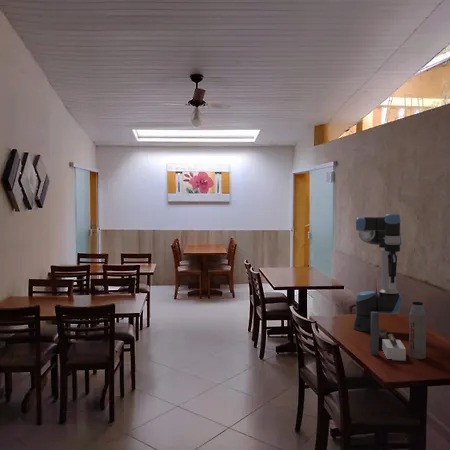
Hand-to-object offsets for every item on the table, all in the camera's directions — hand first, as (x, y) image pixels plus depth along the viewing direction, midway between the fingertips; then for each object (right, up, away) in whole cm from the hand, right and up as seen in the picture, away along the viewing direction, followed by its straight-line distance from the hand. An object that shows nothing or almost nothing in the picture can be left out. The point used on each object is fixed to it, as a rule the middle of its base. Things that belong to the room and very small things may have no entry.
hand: (392, 288), depth 235 cm
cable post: (-9, -34, 0) cm, 35 cm away
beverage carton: (0, -34, +18) cm, 39 cm away
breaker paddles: (0, -28, -2) cm, 28 cm away
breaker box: (0, -34, -2) cm, 34 cm away
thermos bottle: (+11, -34, -4) cm, 36 cm away
